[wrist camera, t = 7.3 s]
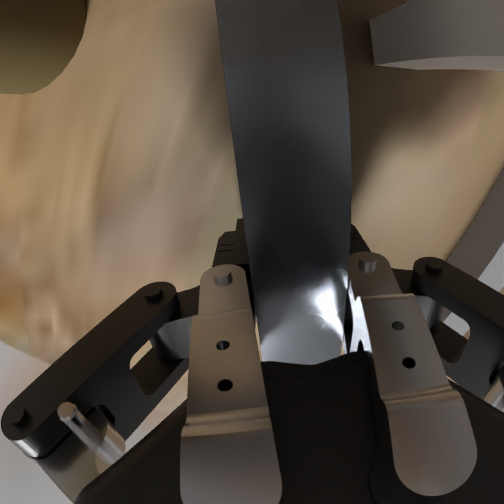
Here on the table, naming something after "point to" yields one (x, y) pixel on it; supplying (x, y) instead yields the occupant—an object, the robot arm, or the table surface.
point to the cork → (37, 41)
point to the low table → (440, 35)
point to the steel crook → (291, 168)
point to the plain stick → (481, 249)
